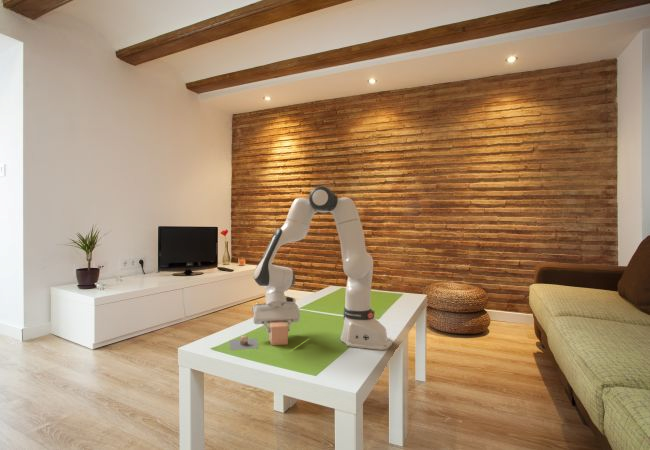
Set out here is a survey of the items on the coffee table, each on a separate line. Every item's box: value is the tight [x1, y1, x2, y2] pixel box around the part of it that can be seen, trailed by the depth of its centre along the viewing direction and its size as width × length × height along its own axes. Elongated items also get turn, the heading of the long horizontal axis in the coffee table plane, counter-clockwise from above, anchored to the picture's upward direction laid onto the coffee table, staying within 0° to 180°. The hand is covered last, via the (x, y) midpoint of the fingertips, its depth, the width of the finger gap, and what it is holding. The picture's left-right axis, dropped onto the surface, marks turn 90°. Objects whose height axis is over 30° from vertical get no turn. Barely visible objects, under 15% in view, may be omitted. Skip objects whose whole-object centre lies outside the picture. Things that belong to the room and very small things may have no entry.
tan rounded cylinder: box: [239, 335, 249, 345], centre depth 144 cm, size 3×3×3 cm
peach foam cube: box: [268, 321, 289, 346], centre depth 148 cm, size 7×7×8 cm
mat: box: [229, 338, 260, 351], centre depth 144 cm, size 11×11×1 cm
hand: (278, 331), depth 149 cm, fingers closed on peach foam cube, 7 cm apart
